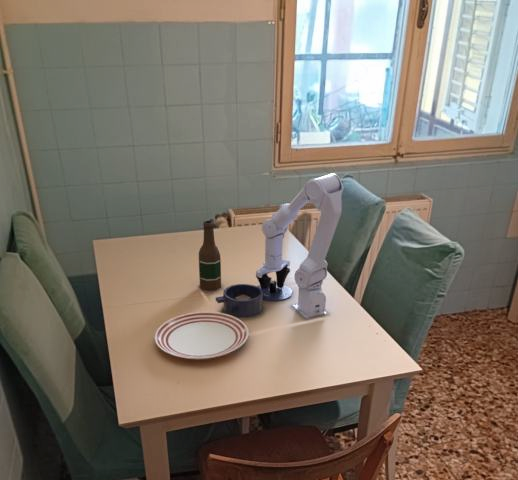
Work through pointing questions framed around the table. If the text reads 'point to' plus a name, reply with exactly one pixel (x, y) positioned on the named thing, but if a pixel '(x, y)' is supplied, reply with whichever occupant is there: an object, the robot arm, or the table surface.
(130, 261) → the table surface
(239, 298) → the block
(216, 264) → the beer bottle
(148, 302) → the table surface
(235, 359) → the table surface
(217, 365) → the table surface
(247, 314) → the pot
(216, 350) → the dinner plate
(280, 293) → the lid
